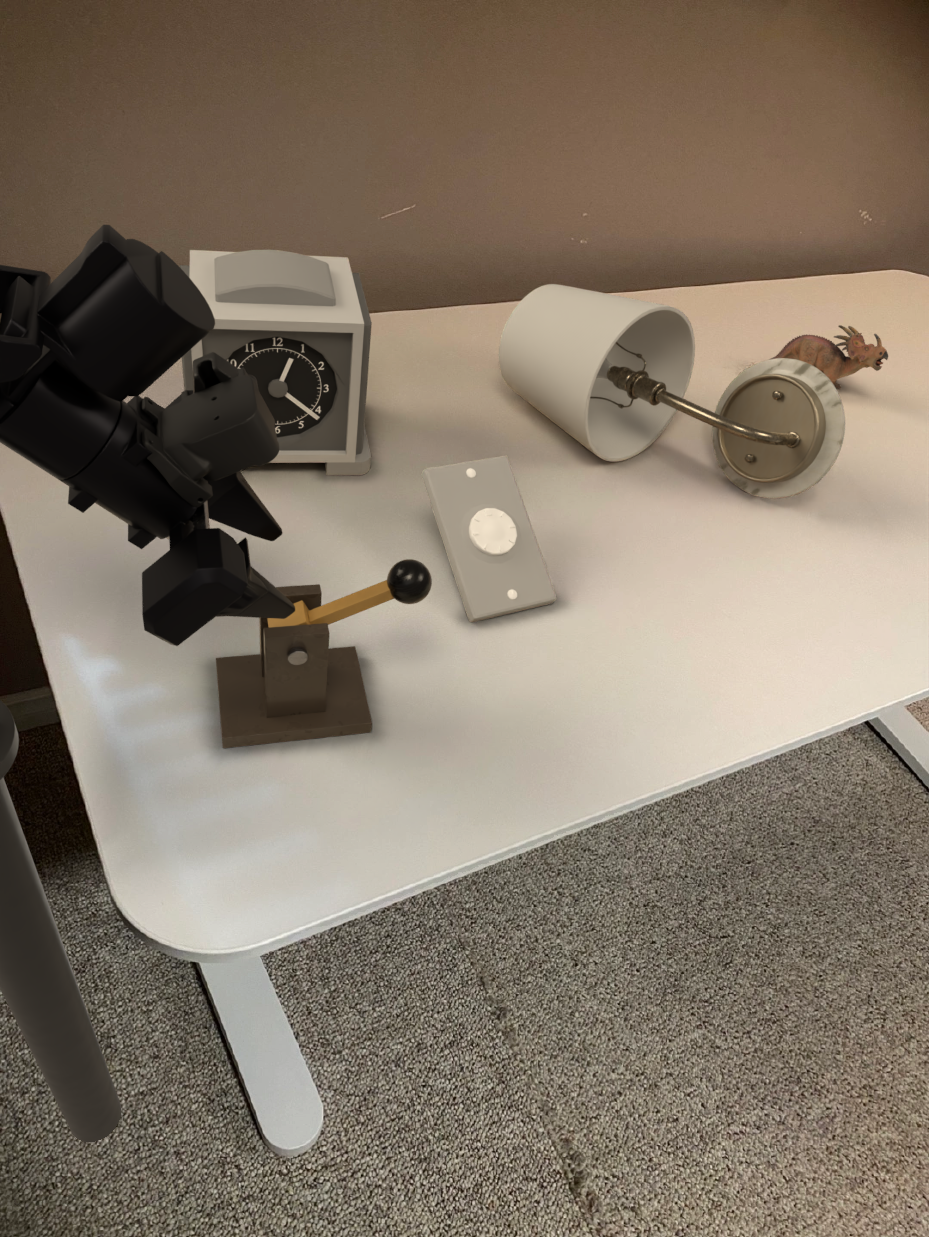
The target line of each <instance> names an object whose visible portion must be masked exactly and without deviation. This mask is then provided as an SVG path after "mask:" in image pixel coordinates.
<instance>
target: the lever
mask: <svg viewBox="0 0 929 1237" xmlns="http://www.w3.org/2000/svg"><path fill="white" fill-rule="evenodd" d="M432 584H433V578H432V574H431V571H430V570H429V568H428V567H427V566H426V565H425V564H424V563H422V562H421V561H419V560H416V559H413V558H405V559H402V560H399V561H398V562H396V563H395V564H394V565H392V567H391V568H390V570H389V571H388V574H387V578H386V579H385V580H383V581H380V582H378V583H375V584H372V585H370V586H368V587H365V588H362V589H360V590H357V591H354V592H352V593H350V594H347V595H345V596H342V597H341V598H338V599H335V600H333V601H330V602H328V603H327V602H326V603H324V604H321V606H320V607H317V608H315V609H312V610H310V611H309V609H308V608H307V606H306V605H305V603H304V602H303V601H302V600H301V601H299V602H296V603H294V605H295V612H294V613H292V614H291V615H290V616H288V617H287V618H285V619H276V618H267V619H268V627H282V626H295V625H309V624H322V623H327V624H328V626H329V625H331V624H334V623H336V622H339V621H341V620H342V621H343V620H344V619H346V618H349V617H352V616H355V615H356V614H358V613H362V612H364V611H366V610H369V609H372V608H375V607H377V606H379V605H383V604H384V603H388V602H389V601H392V600H396V601H397V602H398V603H401V604H404V605H414V604H418V603H420V602H422V601H424V600H425V599H426V598H427V597H428V596H429V594H430V592H431V590H432Z"/></svg>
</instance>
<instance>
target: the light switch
mask: <svg viewBox="0 0 929 1237" xmlns="http://www.w3.org/2000/svg"><path fill="white" fill-rule="evenodd" d="M420 477H421V479H422V483H423V486H424V489H425V492H426V495H427V497H428V501H429V504H430V506H431V510H432V513H433V516H434V519H435V522H436V525H437V528H438V531H439V534H440V537H441V540H442V543H443V546H444V549H445V552H446V554H447V559H448V561H449V564H450V567H451V570H452V571H451V572H452V574H453V577H454V580H455V583H456V586H457V589H458V592H459V594H460V598H461V601H462V604H463V608H464V609H465V613H466V617H467V620H468V622H469V623H476V622H477V623H478V622H481V621H485V620H489V619H494V618H497V617H501V616H505V615H510V614H513V613H514V614H515V613H518V612H522V611H526V610H530V609H534V608H539V607H544V606H547V605H552V604H553V603H554V602H555V601H557V599H558V597H557V594H556V591H555V588H554V585H553V582H552V579H551V576H550V574H549V570H548V569H547V568H548V567H547V565H546V562H545V559H544V557H543V554H542V550H541V549H540V546H539V543H538V542H539V541H538V540H537V537H536V534H535V531H534V529H533V525H532V522H531V519H530V517H529V514H528V510H527V508H526V505H525V502H524V499H523V497H522V494H521V491H520V488H519V485H518V483H517V480H516V476H515V474H514V471H513V468H512V466H511V462H510V459H509V457H508V456H507V455H499V456H493V457H488V458H481V459H475V460H468V461H462V462H456V463H451V464H445V465H438V466H433V467H432V466H431V467H427V468H424V469H423V470H422V471H421V475H420Z"/></svg>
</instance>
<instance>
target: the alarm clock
mask: <svg viewBox="0 0 929 1237" xmlns="http://www.w3.org/2000/svg"><path fill="white" fill-rule="evenodd" d="M179 267H180V268H181V269H182V270H183V271H184V272H185V273H186V275H187V276H188V277H189V278H190V279H191V280H192V281H193V283H194V284H195V285H196V287H197V288H198V289H199V290H200V292H201V293H202V295H203V296H204V298H205V299H206V301H207V303H208V305H209V307H210V309H211V310H212V313H213V316H214V319H215V326H214V329H212V330H211V331H210V332H209V333H208V334H207V335H206V336H205V337H204V338H203V339H201V340H200V341H199V342H198V343H197V344H196V345H195V346H194V347H193V348H191V349H190V350H189V351H188V352H187V353H186V354H185V355H184V356H183V357H181V367H182V368H181V369H182V378H183V379H182V381H183V391H185V390H194V387H193V361H194V360H195V359H197V358H200V357H202V356H205V355H207V354H210V353H212V352H214V353H216V354H218V355H219V356H221V357H222V358H224V359H225V360H226V361H228V362H229V363H231V364H232V365H234V366H235V367H236V368H237V369H241V368H244V369H245V371H246V372H247V374H248V375H253V376H254V377H255V378H256V380H257V384H258V390H259V392H260V394H261V396H262V398H263V400H264V401H265V403H266V405H267V407H268V409H269V411H270V412H271V414H272V416H273V418H274V420H275V430H276V436H277V440H278V443H279V448H280V450H279V453H278V455H277V456H276V457H275V458H274V459H273V460H272V461H270V462H269V463H268V464H270V463H272V464H273V463H275V464H276V463H277V464H279V463H282V464H283V463H287V464H288V463H289V464H291V463H294V464H295V463H298V464H299V463H307V464H308V463H324V467H325V474H326V476H363V475H366V474H368V473H369V471H370V470H371V465H372V463H371V462H372V453H371V449H370V445H369V438H368V435H367V434H368V433H367V430H366V425H365V420H366V406H367V392H368V380H369V367H370V366H369V365H370V354H371V352H370V351H371V338H372V337H371V336H372V324H373V322H372V319H371V315H370V311H369V308H368V303H367V300H366V295H365V291H364V288H363V284H362V279H361V276H360V272H352V268H351V264H350V260H349V257H345V256H344V257H343V256H325V255H324V256H323V255H306V254H301V253H299V252H298V253H297V252H294V251H288V250H287V251H286V250H278V249H249V250H243V251H221V250H220V251H219V250H201V249H189V264H187V265H186V264H179Z"/></svg>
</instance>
